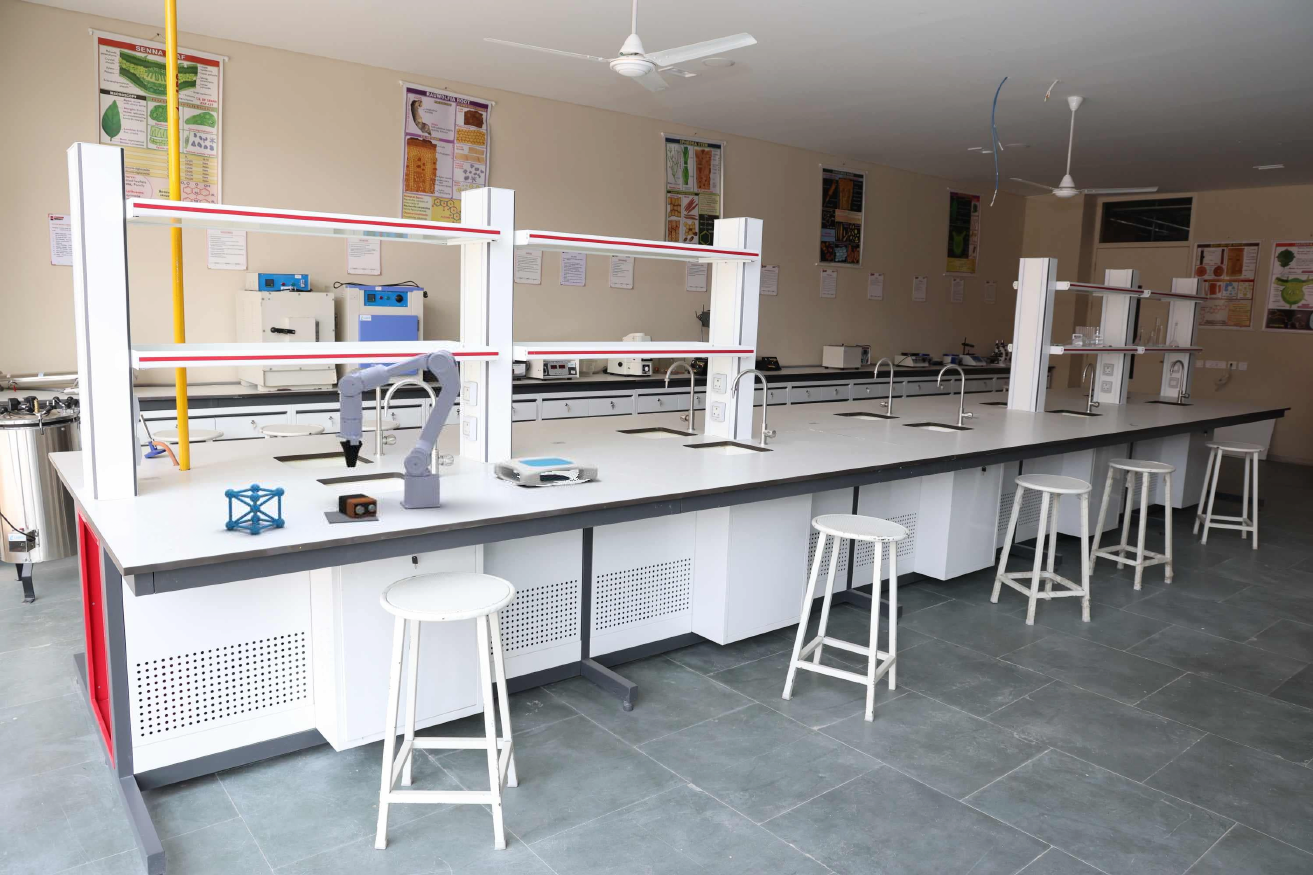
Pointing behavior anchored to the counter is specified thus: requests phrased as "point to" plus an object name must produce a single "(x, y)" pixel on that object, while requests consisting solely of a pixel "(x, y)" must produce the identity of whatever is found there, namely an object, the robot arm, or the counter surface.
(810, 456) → the counter surface
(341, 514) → the mat
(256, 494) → the molecular structure
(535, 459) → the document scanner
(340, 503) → the battery
